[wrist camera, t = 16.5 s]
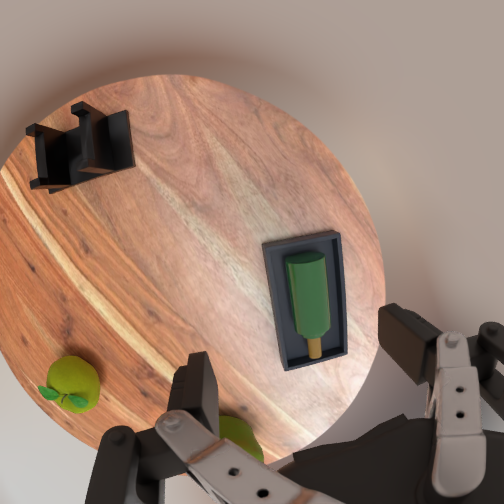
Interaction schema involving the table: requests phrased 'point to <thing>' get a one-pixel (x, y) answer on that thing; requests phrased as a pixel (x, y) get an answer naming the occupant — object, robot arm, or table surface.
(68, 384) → the fruit
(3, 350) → the table surface
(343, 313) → the tray
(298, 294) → the green bottle
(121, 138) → the rack
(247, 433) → the apple
